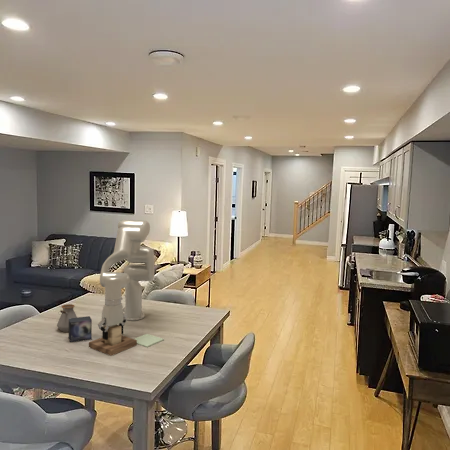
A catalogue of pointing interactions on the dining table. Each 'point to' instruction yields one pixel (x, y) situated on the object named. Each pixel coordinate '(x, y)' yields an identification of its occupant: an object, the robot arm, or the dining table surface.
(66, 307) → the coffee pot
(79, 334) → the small box
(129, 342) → the cradle board
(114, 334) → the beech block
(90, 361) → the dining table surface
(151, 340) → the pad
